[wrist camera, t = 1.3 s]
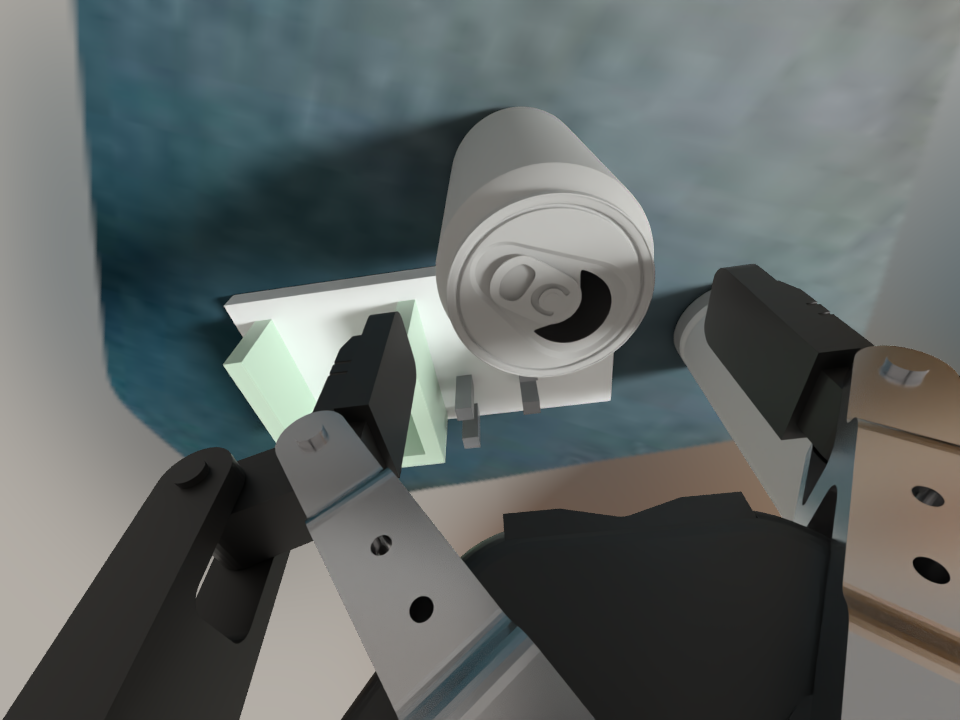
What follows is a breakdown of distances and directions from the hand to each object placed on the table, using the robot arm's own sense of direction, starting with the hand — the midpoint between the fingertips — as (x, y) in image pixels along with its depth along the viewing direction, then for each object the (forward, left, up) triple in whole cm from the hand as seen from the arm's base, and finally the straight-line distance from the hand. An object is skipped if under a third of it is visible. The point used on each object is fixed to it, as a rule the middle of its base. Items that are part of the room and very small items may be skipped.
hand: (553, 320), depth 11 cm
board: (+9, -6, -13) cm, 17 cm away
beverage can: (0, 0, -13) cm, 13 cm away
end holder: (+10, -11, -11) cm, 19 cm away
